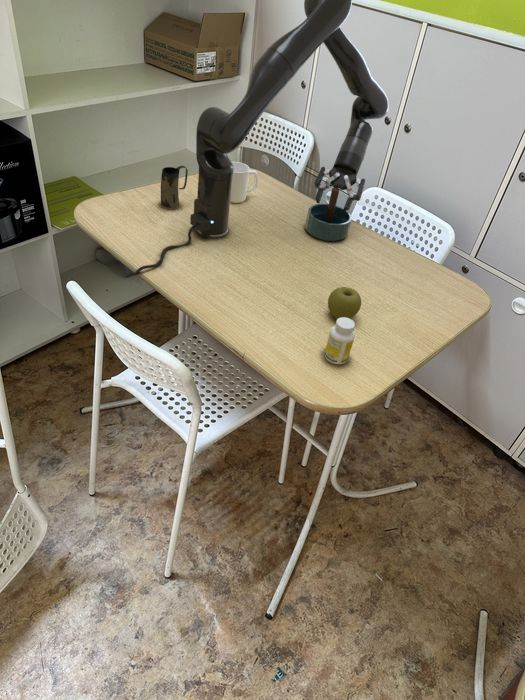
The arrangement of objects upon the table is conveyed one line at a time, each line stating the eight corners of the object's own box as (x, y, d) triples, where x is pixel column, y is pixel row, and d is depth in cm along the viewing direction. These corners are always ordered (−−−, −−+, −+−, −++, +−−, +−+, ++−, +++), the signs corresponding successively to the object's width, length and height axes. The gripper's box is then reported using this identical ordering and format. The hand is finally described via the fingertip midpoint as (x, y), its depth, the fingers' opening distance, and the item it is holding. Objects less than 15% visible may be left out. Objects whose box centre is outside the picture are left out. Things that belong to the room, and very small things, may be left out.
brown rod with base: (327, 234, 158) (337, 193, 149) (316, 227, 160) (325, 187, 151) (336, 230, 160) (346, 190, 152) (325, 224, 162) (334, 184, 154)
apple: (351, 329, 125) (358, 306, 120) (320, 317, 127) (326, 294, 122) (360, 313, 130) (367, 290, 126) (330, 302, 132) (336, 279, 127)
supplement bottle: (345, 349, 119) (356, 316, 113) (349, 366, 115) (360, 332, 108) (322, 347, 118) (331, 314, 112) (325, 364, 114) (335, 329, 108)
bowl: (328, 247, 153) (332, 229, 149) (295, 228, 160) (299, 210, 156) (355, 235, 161) (360, 217, 157) (323, 217, 167) (327, 200, 163)
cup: (217, 192, 171) (219, 161, 164) (251, 190, 175) (254, 161, 168) (225, 203, 165) (228, 173, 159) (260, 201, 170) (264, 171, 163)
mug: (163, 210, 157) (164, 172, 149) (158, 202, 160) (158, 164, 152) (188, 208, 160) (190, 170, 152) (182, 199, 163) (183, 162, 156)
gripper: (327, 143, 152) (307, 194, 152) (374, 156, 149) (353, 208, 149) (328, 156, 160) (309, 204, 159) (373, 169, 157) (354, 218, 156)
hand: (331, 206), depth 154 cm, fingers open, 8 cm apart
